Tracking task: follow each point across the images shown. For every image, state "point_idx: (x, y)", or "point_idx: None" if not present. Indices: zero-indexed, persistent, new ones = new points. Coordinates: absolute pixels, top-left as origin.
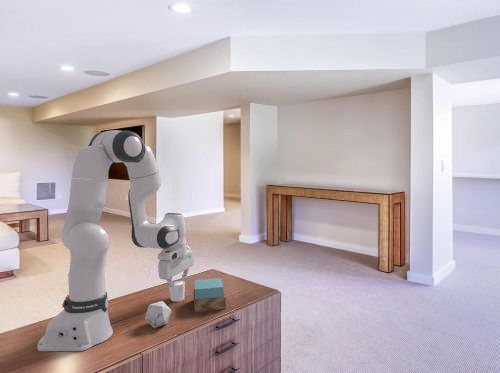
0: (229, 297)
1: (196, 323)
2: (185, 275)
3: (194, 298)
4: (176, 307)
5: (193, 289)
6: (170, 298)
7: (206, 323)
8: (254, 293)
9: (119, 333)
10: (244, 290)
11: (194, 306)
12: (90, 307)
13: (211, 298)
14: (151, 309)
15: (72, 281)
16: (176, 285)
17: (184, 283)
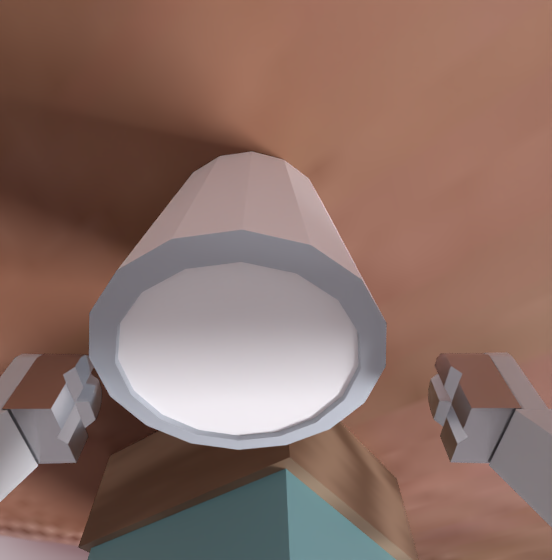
0: (405, 502)
1: (5, 513)
2: (469, 458)
3: (105, 537)
4: (82, 331)
5: (284, 459)
6: (188, 178)
7: (43, 537)
8: (490, 555)
9: None
10: (538, 517)
11: (128, 466)
12: None
13: None
14: None
15: None
16: (141, 413)
17: (277, 443)
